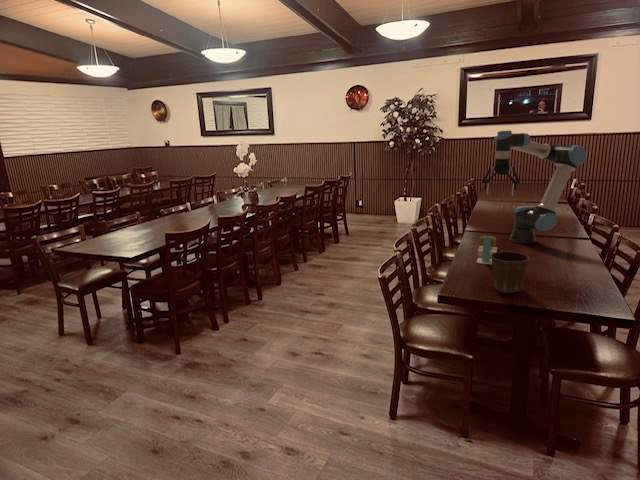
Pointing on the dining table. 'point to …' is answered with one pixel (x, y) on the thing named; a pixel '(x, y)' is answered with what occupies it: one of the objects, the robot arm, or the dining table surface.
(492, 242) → the mug
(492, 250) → the socket block
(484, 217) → the dining table surface
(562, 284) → the dining table surface
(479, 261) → the tile
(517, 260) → the plant pot
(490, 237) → the plug
